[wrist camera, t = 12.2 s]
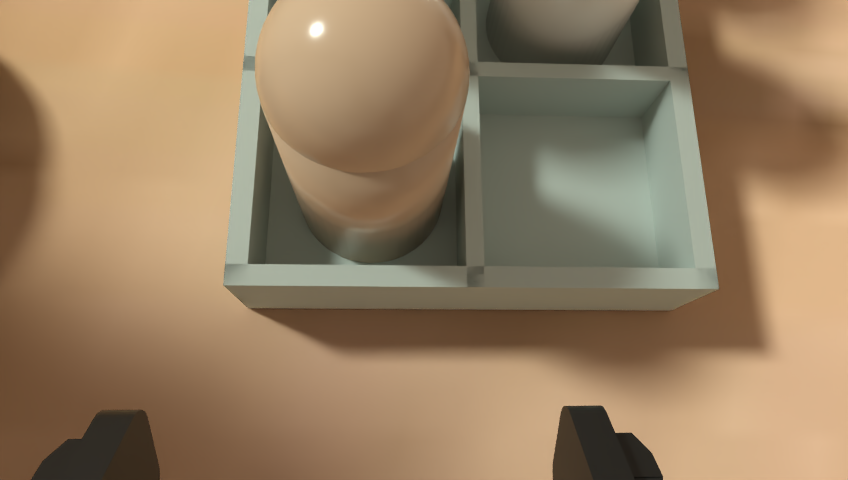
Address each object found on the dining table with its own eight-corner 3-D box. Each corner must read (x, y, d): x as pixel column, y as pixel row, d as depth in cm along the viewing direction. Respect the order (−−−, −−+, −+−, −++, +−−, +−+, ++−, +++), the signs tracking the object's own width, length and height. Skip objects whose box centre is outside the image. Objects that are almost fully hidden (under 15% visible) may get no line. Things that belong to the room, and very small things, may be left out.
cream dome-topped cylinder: (272, 216, 20) (179, 39, 11) (350, 107, 22) (323, -131, 13) (395, 289, 20) (400, 166, 11) (468, 173, 21) (527, -23, 12)
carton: (248, 308, 20) (223, 285, 17) (286, -178, 26) (272, -259, 23) (670, 310, 21) (718, 289, 18) (614, -164, 27) (643, -241, 24)
